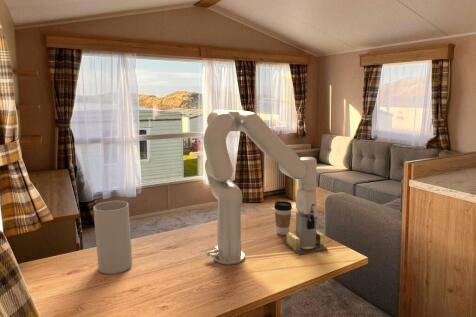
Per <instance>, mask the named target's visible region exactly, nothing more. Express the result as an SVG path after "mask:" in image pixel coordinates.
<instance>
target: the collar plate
mask: <svg viewBox="0 0 476 317" xmlns="http://www.w3.org/2000/svg"><path fill="white" fill-rule="evenodd" d="M283 244H284V245H285V246H286V247H287V248H289V249H290V250H291V251H293V253H295V254H296V255H297V256H302V255H308V254H309V255H310V254H315V253H318V252H319V251H320V252H324V251H323V250H325V251H328V247H327V246H325V234H324V233H323V232H321V231H319V230H318V229H316V246H311V247H300V238H298V237H297V236H296V234H294V233H293V232H291V231H289V232H288V233H287V234H286V240H284V241H283ZM320 252H319V253H320Z"/></svg>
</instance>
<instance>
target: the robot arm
mask: <svg viewBox="0 0 476 317" xmlns="http://www.w3.org/2000/svg"><path fill="white" fill-rule="evenodd" d="M206 123H207V127H206V129H205V131H204V135H203V146H204V151H205V155H206V160H205V162H204V171H205V175H206V177H207V180H208V184H209V187H210V190H211V193H212V195H213V197H214V198H215V199H216V200H217V202H218V203H217V212H216V218H217V219H216V220H217V221H216V222H217V225H216V226H217V229H216V232H217V245H216V246H215V248H214V249H213V250H207V251H205V254H206V257H209V256H210V257H211V258H213V259H214V261H215V262H217V263H219V264H222V265H228V266H229V265H237V264H240V263H242V262H243V261H244V260H245V258H246V254H245V253H244V252H243V251H242V206H243V193H242V190H241V189H240V187H239V186H238V185H237V184H235V183H234V182H233V181H232V176H233V174H234V167H233V164H232V161H231V157H230V154H229V151H228V145H227V137H228V135H229V133H230V132H243V133H244V134H245V135H246V136H247V137H248V138H249V139H250V140H251V141H252V142H253V144H255V146H257V148H259V150H260V151H261V152H263V153H264V154H265V155H266V156H268V157H270V158H271V159H273V160H274V161H276V163H278V169H279V171H280V172H281V173H282V174H283V175H285V176H287V177H290V178H291V179H293V180H297V190H296V196H295V209H296V210H297V212H299V211H301V212H302V211H303V213H304V214H306V215H308V220H307V229H308V230H309V229H314V225H315V219H316V217H318V216H319V214H318V211H317V210H318V207H317V206H318V202H317V201H318V200H317V192H316V191H317V167H318V166H317V158H315V157H313V156H302V157H299V155H298V154H297V153H296V152H295V151H294V150H293V149H291V148H290V147H289V146H288V145H287V144H286V143H285V142H284V141H283V140H282V139H281V138H280V137H279V136H278V135H277V134H276V133H275V132H274V131H273V130H272V129H271V128H270V127H269V125H268V124H267V123H266V122H265V121H264V120H263V119H262V118H261V116H260V115H258V113H256V112H253V111H248V110H247V111H246V110H226V109H223V110H222V109H215V110H213V111H211V112H210V113H209V114H208V115H207V119H206ZM311 211H312V213H310V212H311ZM311 214H312V216H311V217H310V215H311Z"/></svg>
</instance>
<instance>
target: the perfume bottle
mask: <svg viewBox="0 0 476 317" xmlns="http://www.w3.org/2000/svg"><path fill="white" fill-rule="evenodd" d="M310 213H312V211H311V212H310ZM311 216H312V214H311V215H310V217H311ZM317 217H318V216H317ZM317 217H316V219H315V225H314V229H309V230H308V229H307V220H308V215H306V214H304V213H303V211H302V212H301V211H299V212H298V211H296V214H295V235H296V236H297V237H298V238H300V247H311V246H316V230H317V224H318V223H317V221H318V218H317Z"/></svg>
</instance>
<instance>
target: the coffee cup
mask: <svg viewBox="0 0 476 317" xmlns="http://www.w3.org/2000/svg"><path fill="white" fill-rule="evenodd" d="M292 210H293V206H292V203H291V202H289V201H285V200H279V201H278V200H277V201H275V203H274V218H275V225H276V226H275V228H276V230H275V231H276V234H278V235H282V236H283V235H286V236H287V233H288V232H290V226H291V225H290V224H291V216H292Z"/></svg>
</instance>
